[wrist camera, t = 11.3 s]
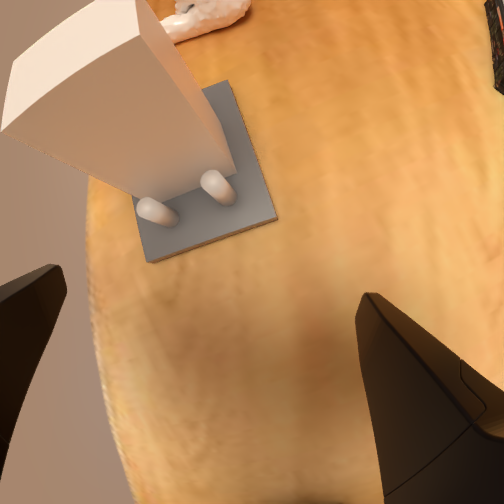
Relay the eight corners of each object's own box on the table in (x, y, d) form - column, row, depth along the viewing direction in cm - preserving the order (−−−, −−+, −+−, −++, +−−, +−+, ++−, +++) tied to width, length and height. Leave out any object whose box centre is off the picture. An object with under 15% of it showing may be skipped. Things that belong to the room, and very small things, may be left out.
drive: (237, 173, 19) (139, 34, 7) (154, 205, 20) (0, 132, 7) (220, 122, 20) (132, -21, 7) (143, 155, 21) (13, 61, 8)
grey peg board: (278, 219, 20) (269, 202, 15) (153, 263, 21) (117, 259, 17) (230, 86, 21) (214, 50, 17) (126, 132, 22) (95, 107, 18)
